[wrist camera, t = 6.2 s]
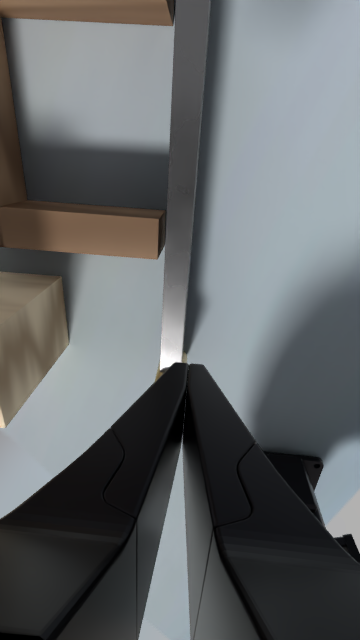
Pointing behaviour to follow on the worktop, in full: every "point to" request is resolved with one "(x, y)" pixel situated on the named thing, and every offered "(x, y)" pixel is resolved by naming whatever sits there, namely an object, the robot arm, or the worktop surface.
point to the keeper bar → (183, 170)
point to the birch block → (28, 335)
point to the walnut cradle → (67, 218)
